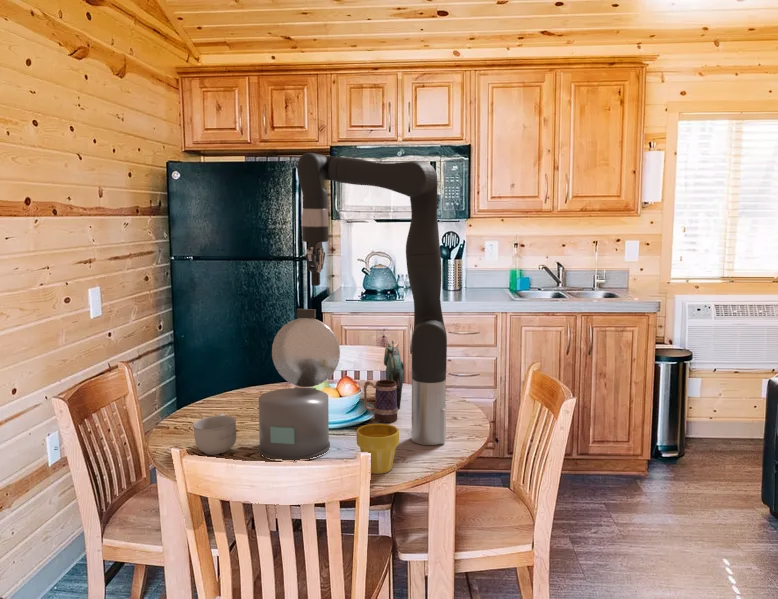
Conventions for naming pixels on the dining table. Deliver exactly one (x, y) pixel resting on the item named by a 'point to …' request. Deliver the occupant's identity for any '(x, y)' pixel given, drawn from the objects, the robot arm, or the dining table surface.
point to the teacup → (215, 434)
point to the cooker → (293, 423)
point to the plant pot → (379, 445)
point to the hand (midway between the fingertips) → (315, 285)
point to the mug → (383, 400)
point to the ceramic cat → (394, 369)
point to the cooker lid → (305, 350)
